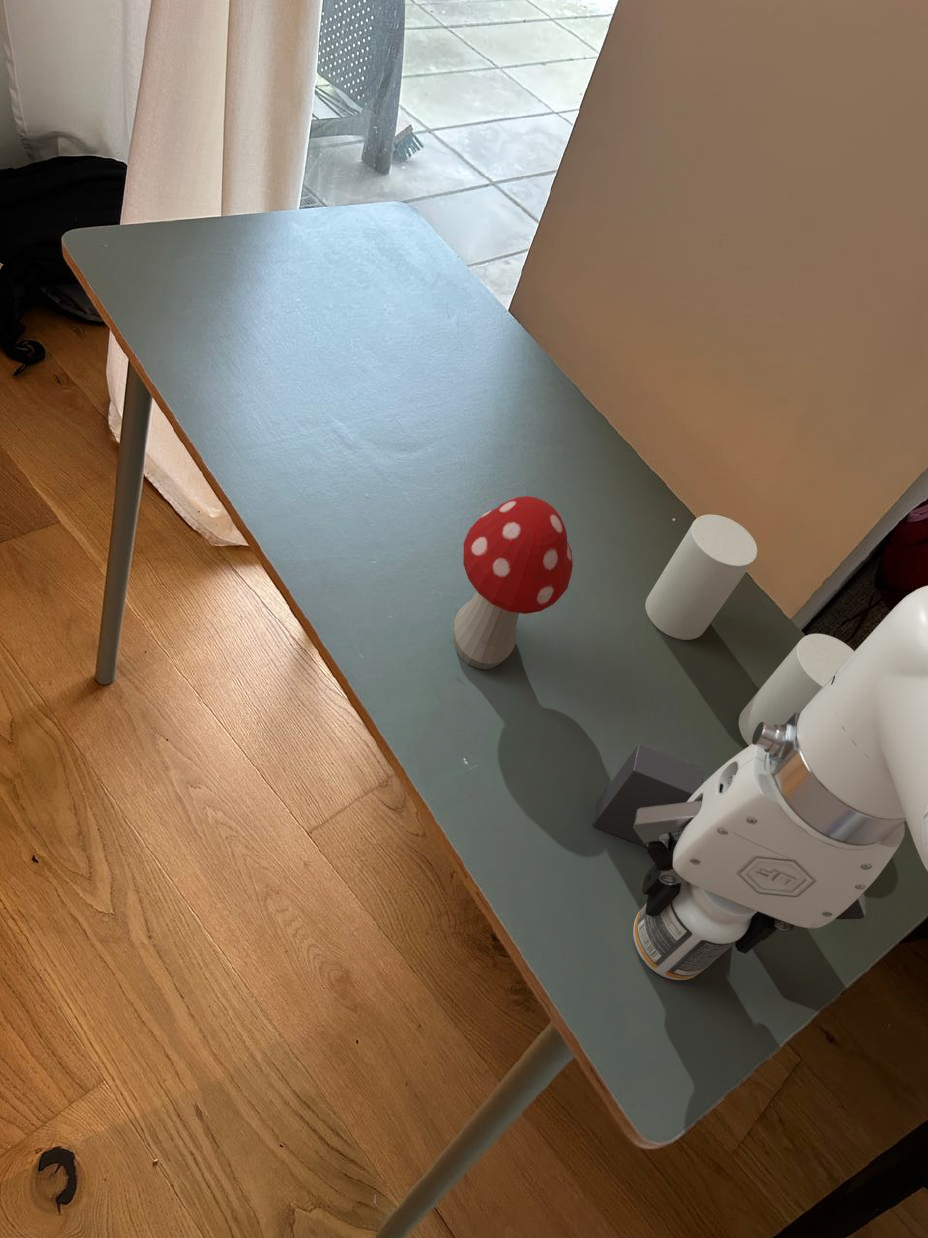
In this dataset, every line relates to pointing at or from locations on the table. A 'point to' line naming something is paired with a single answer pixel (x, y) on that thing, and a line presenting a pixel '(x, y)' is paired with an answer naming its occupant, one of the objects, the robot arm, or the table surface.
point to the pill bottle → (689, 932)
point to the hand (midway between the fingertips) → (697, 913)
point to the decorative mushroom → (510, 576)
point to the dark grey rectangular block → (644, 790)
